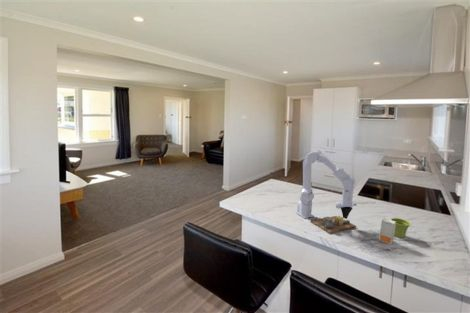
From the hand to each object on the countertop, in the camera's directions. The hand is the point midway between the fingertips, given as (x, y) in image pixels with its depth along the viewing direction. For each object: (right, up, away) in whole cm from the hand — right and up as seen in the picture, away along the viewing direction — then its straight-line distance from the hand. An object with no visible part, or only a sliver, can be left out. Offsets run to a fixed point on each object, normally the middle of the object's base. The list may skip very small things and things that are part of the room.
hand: (345, 218), depth 158 cm
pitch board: (-7, -5, +1) cm, 8 cm away
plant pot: (+26, -8, -10) cm, 29 cm away
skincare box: (+15, -9, -17) cm, 24 cm away
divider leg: (-5, -3, 0) cm, 6 cm away
